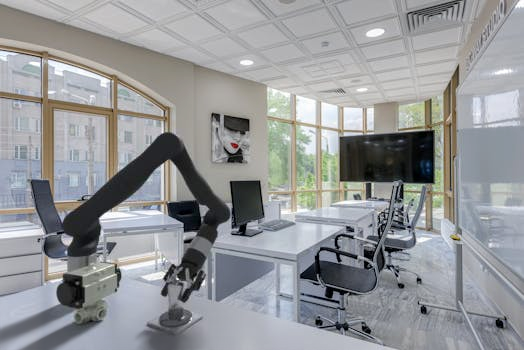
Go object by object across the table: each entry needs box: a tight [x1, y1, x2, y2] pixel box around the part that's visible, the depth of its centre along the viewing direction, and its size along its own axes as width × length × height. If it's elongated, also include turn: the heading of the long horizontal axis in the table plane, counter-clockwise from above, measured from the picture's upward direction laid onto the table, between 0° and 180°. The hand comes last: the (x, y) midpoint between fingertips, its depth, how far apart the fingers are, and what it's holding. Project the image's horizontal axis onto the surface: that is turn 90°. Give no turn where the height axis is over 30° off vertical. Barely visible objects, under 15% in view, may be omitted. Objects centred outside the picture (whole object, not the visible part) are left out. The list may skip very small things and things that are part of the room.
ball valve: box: [55, 261, 122, 325], centre depth 95 cm, size 18×8×18 cm, turn 159°
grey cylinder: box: [167, 281, 185, 320], centre depth 94 cm, size 5×5×10 cm
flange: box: [146, 308, 204, 336], centre depth 94 cm, size 12×12×1 cm
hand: (172, 298), depth 93 cm, fingers open, 8 cm apart
